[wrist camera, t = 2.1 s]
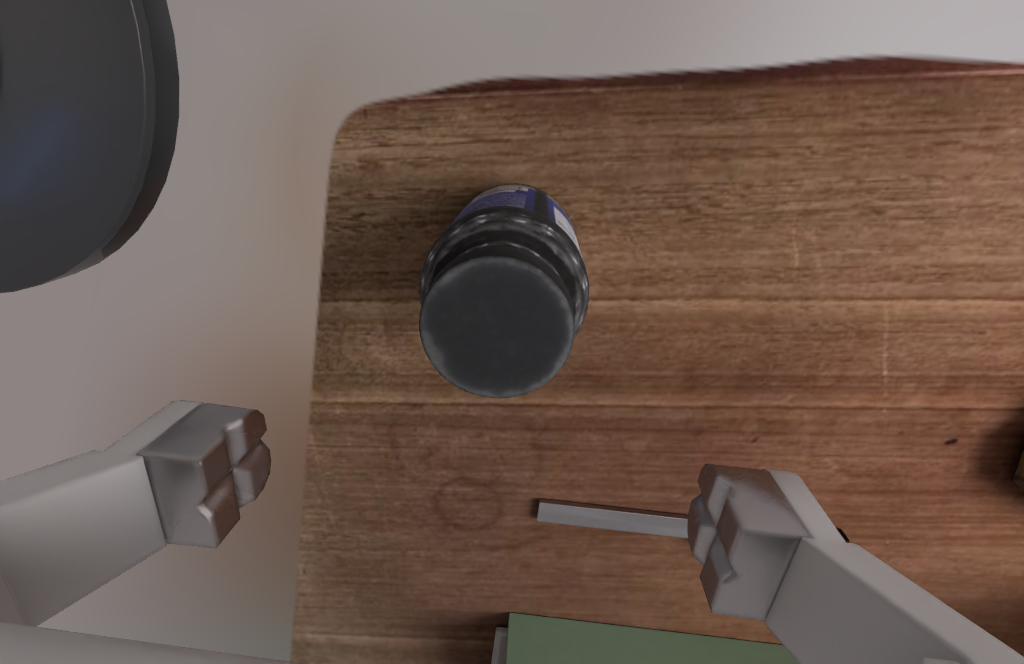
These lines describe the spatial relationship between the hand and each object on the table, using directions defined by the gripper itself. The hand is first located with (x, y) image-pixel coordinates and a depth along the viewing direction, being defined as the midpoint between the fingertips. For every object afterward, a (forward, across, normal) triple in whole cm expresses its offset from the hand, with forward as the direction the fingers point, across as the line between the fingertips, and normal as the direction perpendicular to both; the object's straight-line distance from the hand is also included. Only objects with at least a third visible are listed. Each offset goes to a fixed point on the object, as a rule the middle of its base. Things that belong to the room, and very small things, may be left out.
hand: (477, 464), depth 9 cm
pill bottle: (+17, 0, 0) cm, 17 cm away
